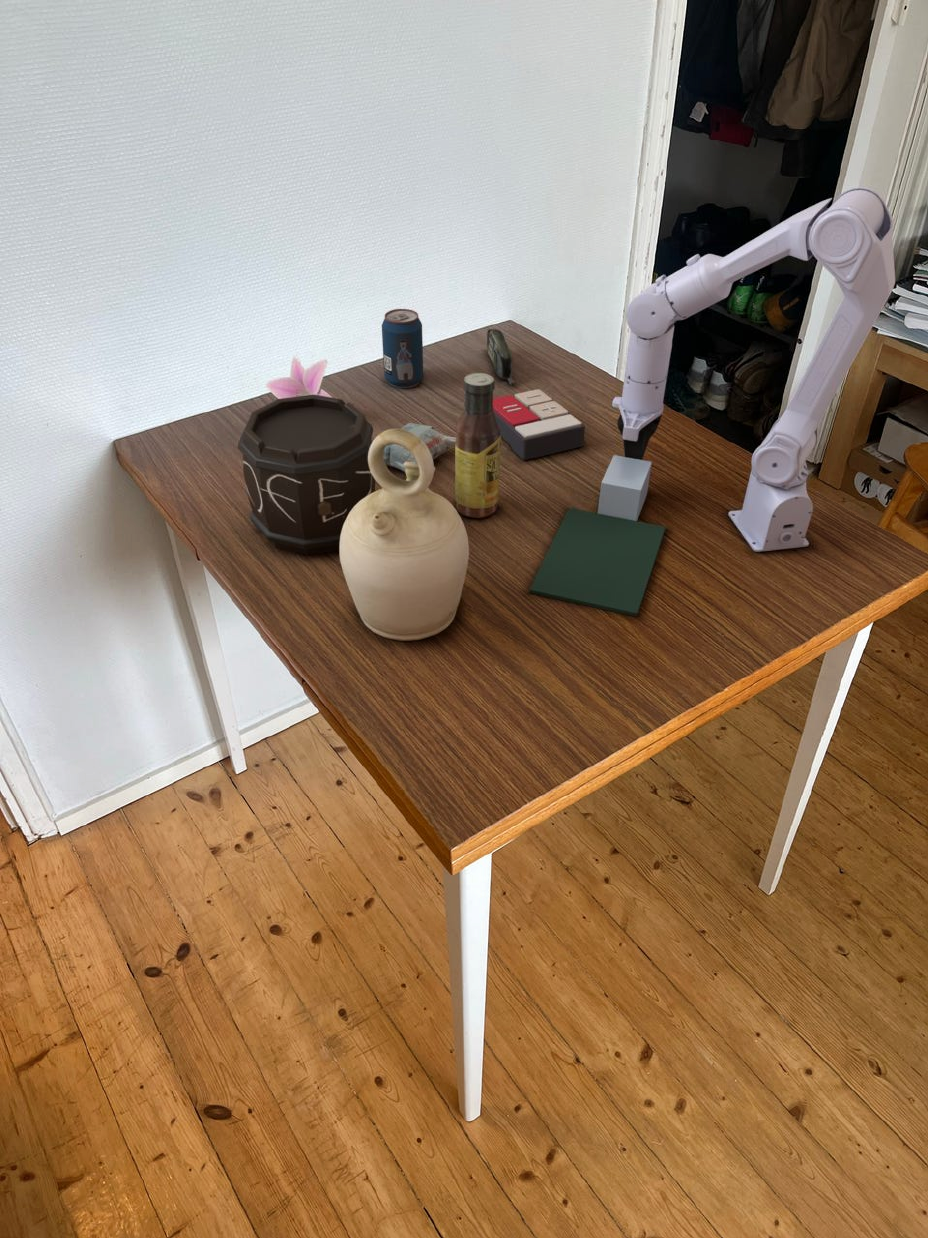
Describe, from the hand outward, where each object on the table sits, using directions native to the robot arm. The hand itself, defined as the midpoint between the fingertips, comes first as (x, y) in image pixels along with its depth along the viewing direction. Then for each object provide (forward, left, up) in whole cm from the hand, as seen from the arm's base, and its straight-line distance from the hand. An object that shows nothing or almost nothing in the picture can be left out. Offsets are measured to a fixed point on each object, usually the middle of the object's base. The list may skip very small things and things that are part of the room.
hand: (633, 461), depth 135 cm
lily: (+30, +47, -5) cm, 55 cm away
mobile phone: (+43, +11, -5) cm, 44 cm away
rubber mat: (-17, +10, -4) cm, 20 cm away
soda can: (+41, +29, -5) cm, 50 cm away
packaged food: (+13, +31, -5) cm, 33 cm away
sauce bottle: (-1, +24, -5) cm, 24 cm away
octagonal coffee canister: (-1, +47, -5) cm, 47 cm away
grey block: (-4, +3, -2) cm, 5 cm away
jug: (-22, +37, -5) cm, 43 cm away
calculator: (+19, +11, -5) cm, 22 cm away
